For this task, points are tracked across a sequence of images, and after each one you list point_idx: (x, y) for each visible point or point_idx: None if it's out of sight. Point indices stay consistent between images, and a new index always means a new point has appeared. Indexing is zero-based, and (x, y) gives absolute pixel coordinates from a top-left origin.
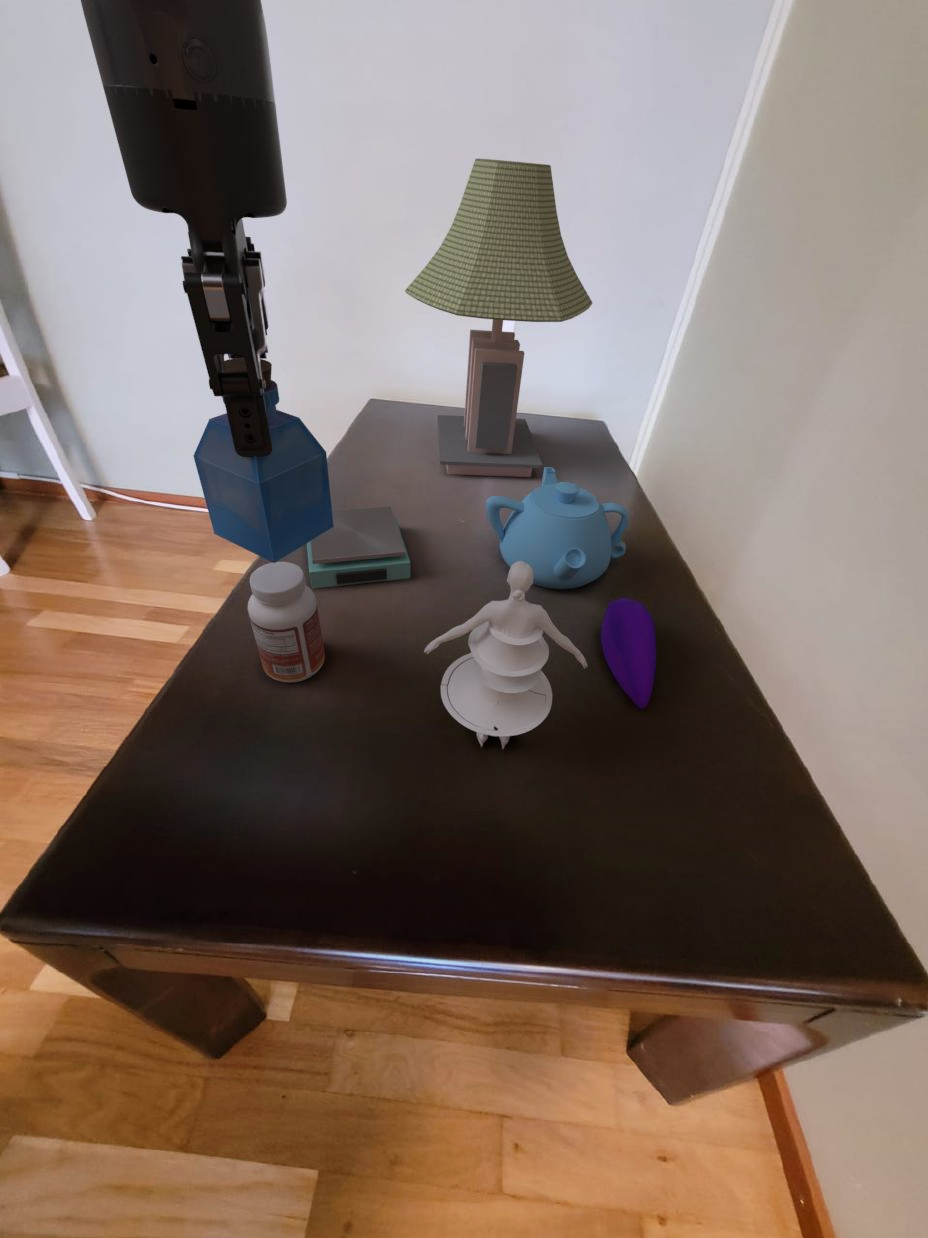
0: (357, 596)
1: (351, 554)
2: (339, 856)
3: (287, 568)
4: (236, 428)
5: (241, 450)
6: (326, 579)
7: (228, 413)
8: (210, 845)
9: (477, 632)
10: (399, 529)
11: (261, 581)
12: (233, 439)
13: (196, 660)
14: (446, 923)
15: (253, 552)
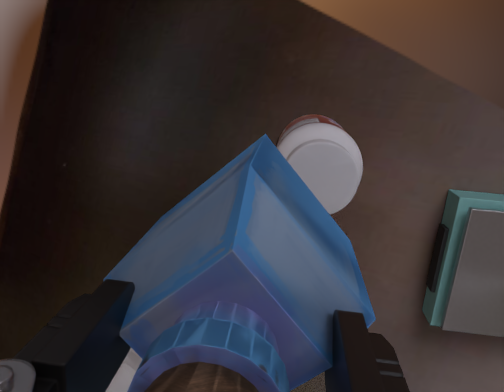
0: (410, 240)
1: (463, 262)
2: (78, 156)
3: (334, 196)
4: (47, 326)
5: (80, 296)
6: (449, 213)
7: (59, 333)
8: (107, 52)
9: (132, 374)
10: None
11: (314, 158)
12: (92, 295)
13: (355, 33)
14: (18, 217)
15: (194, 190)
